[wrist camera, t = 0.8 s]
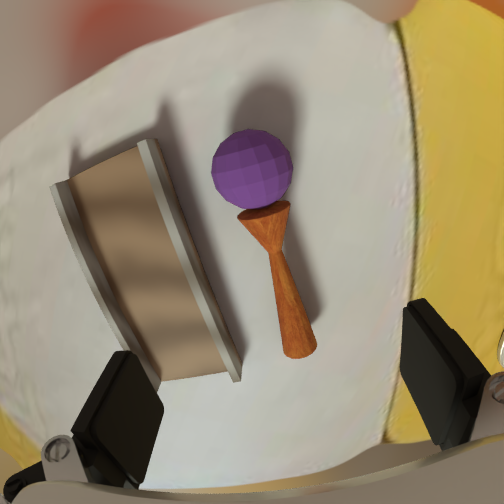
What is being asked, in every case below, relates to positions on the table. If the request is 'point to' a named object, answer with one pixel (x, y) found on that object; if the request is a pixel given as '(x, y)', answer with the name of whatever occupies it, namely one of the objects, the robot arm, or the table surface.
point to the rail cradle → (146, 266)
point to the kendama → (265, 219)
